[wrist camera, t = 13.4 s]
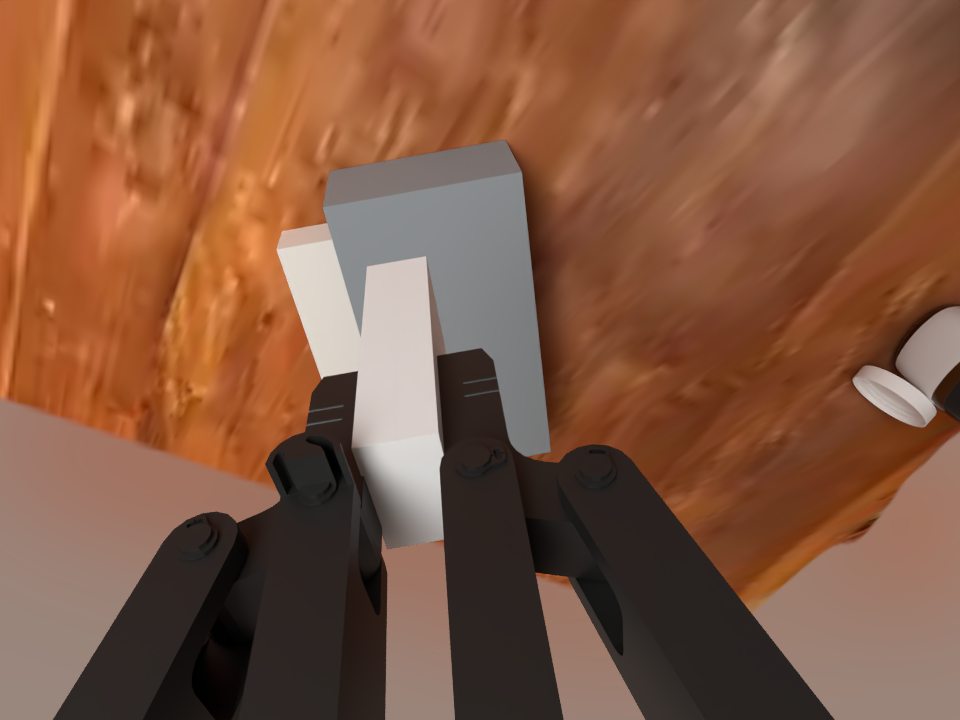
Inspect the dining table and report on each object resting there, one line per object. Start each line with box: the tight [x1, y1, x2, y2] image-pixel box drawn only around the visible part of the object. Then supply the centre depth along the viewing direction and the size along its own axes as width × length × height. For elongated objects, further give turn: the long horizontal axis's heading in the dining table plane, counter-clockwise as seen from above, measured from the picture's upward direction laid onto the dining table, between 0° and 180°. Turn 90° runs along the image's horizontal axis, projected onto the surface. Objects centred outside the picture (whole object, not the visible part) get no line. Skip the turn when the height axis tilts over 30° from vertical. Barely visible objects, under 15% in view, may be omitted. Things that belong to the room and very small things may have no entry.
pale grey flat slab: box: [277, 223, 361, 379], centre depth 50 cm, size 16×10×3 cm, turn 8°
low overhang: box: [323, 140, 551, 456], centre depth 49 cm, size 23×12×6 cm, turn 8°
